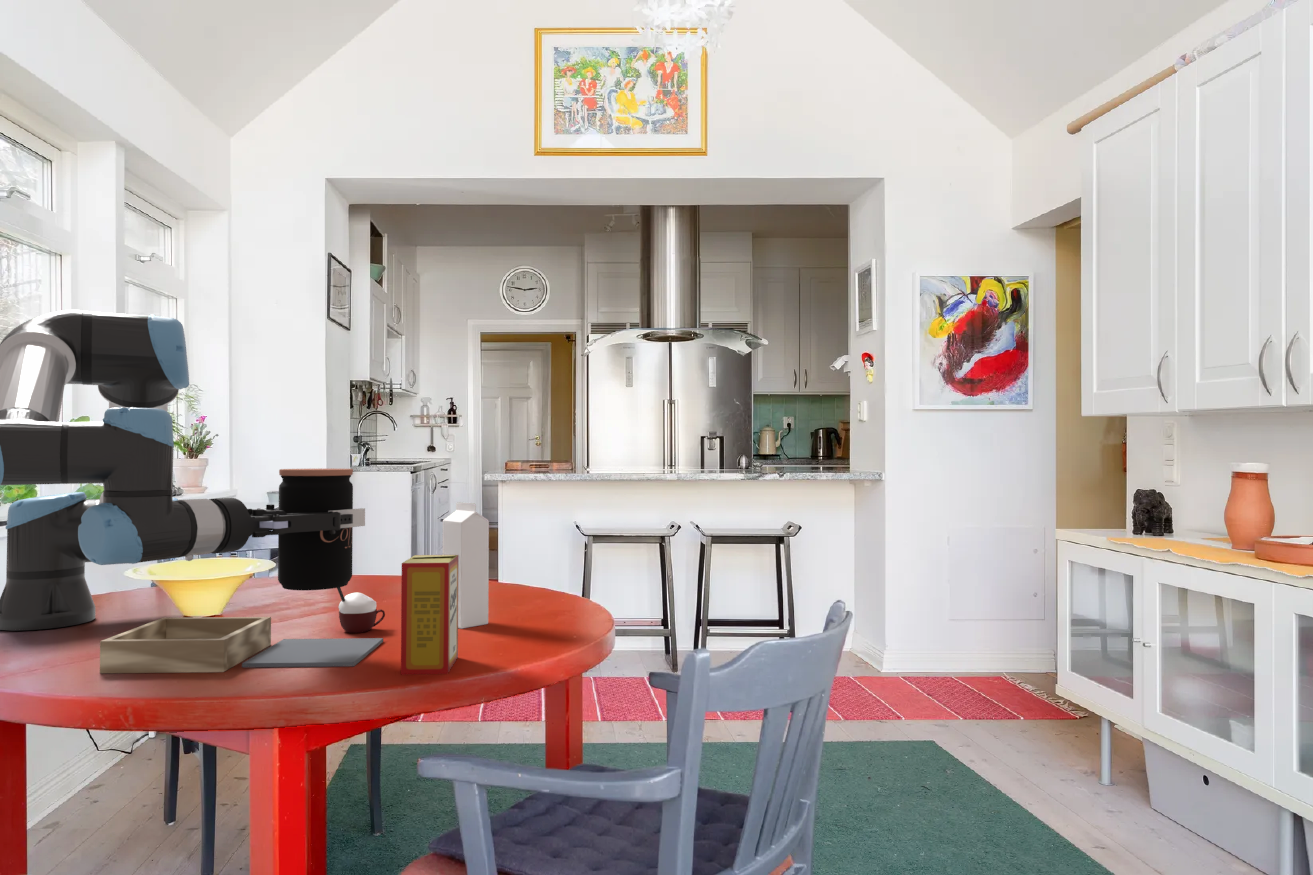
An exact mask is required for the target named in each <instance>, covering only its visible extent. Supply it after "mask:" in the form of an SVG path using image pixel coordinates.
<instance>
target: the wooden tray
mask: <svg viewBox="0 0 1313 875" xmlns="http://www.w3.org/2000/svg"><path fill="white" fill-rule="evenodd" d="M269 646H270V647H271V646H272V616H232V617H231V616H228V617H227V616H226V617H225V616H223V617H222V616H221V617H219V616H215V617H214V616H213V617H209V616H207V617H204V616H203V617H201V616H200V617H199V616H197V617H196V616H195V617H161V618H158V619H155V620H153V621H150V622H148V623H146V624H142V625H140V626H138V627H137V626H136V627H134V628H131V629H129V630H126V631H124V632H121V633H118V634H115V635H113V636H111V637H108V638H105V639H102V640H100V641H99V674H145V673H146V674H149V673H151V674H152V673H153V674H156V673H157V674H160V673H163V674H164V673H170V674H171V673H224V672H227V670H230V669H231V668H234V666H237V665H238V664H240V663H243V662H245V661H246V660H248V658H249V659H250V658H251V657H253V656H255V655H257V654H258V653H260V652H262V650H263V651H264V650H265V649H267V648H269Z"/></svg>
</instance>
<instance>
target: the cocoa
mask: <svg viewBox="0 0 1313 875" xmlns="http://www.w3.org/2000/svg"><path fill="white" fill-rule="evenodd" d="M341 588H342V587H339V588H336V589H337V592H338V594H339V597H340V599H341V601H340V602H339V604H338V610H339V611H338V618H339V623H340V626H341V627H342V629H343V630H344V631H345V632H346V633H349V634H361V633H366V632H368V631H370V630H371V629H372V628H374V627H376V626H377V625H379V624H380V623H381V622H382V621H383V620H384V619H385V616H386V613H385V610H384V609H378V610H377V601H376V600H374V599H373V598H372V597H371V596H370V597H369V596H368V595H366V594H364V593H362V592H351V593H349V594H346V595H345V596H344V593H343V591H342V589H341ZM378 613H382V615H381V618H379V619H378V620H377V615H378Z"/></svg>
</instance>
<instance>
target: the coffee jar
mask: <svg viewBox="0 0 1313 875" xmlns="http://www.w3.org/2000/svg"><path fill="white" fill-rule="evenodd" d="M353 472H354V469H353V468H281V469H279V470H278V473H279V476H280V477H281V480H282V481H281V483H280V484H279V486H278V508H279V510H282V511H285V512H286V514H290V513H320V512H328V511H333V510H346V509H354V508H353V507H354V485H353V483H352V481H351V480H350V479H351V477H352V475H353V474H354V473H353ZM353 529H354V527H349V528H340V530H337V531H335V534H330V530H325V531H310V532H294V533H285V534H282V535H277V536H278V538H277V540H278V541H277V545H278V546H277V548H278V549H277V562H278V563H277V581H278V583H279V584H280V585H281V587H282V588H283V589H284V590H290V591H323V590H332V589H337V588H339V587H340V588H342V587H346V586H348V584H349V582H350V581H351V579H352V578H353Z"/></svg>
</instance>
